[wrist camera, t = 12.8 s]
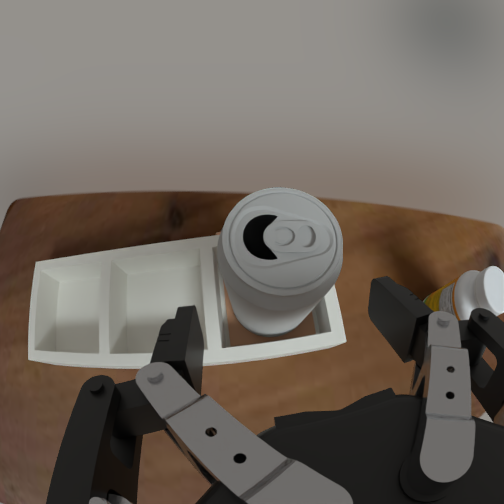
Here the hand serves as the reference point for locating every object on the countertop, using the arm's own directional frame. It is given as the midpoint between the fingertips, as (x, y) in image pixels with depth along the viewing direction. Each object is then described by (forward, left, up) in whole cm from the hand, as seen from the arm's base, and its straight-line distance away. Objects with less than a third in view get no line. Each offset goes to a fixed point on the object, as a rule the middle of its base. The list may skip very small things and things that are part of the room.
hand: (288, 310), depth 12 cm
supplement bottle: (+18, -1, -13) cm, 22 cm away
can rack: (-9, +4, -12) cm, 16 cm away
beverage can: (0, +3, -11) cm, 12 cm away
